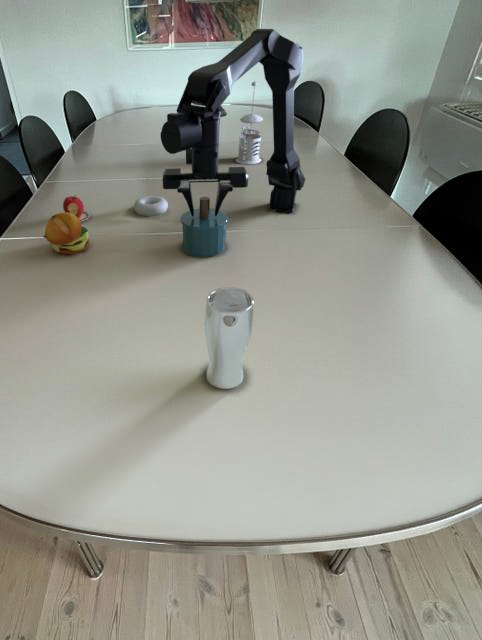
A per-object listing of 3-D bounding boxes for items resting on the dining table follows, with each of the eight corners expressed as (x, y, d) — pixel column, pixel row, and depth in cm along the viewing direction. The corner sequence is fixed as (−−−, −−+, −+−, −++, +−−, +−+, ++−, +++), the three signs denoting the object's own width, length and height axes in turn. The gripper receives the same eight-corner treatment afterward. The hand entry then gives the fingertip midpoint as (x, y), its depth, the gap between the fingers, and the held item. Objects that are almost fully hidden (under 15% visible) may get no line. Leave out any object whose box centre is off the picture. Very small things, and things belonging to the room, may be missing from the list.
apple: (95, 217, 118) (91, 194, 113) (73, 226, 113) (68, 203, 109) (79, 210, 122) (74, 188, 118) (56, 219, 118) (51, 196, 113)
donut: (130, 218, 117) (164, 219, 115) (128, 206, 115) (163, 207, 113) (139, 205, 124) (171, 205, 122) (138, 193, 122) (170, 194, 120)
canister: (229, 241, 104) (231, 214, 99) (217, 259, 96) (218, 231, 92) (191, 235, 107) (191, 209, 102) (176, 253, 100) (176, 226, 95)
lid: (233, 216, 100) (235, 192, 96) (220, 235, 92) (221, 210, 88) (190, 210, 103) (189, 187, 99) (173, 228, 95) (172, 204, 91)
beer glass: (200, 363, 69) (202, 287, 59) (241, 360, 70) (249, 284, 60) (206, 393, 64) (209, 315, 54) (250, 389, 64) (260, 311, 54)
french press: (265, 158, 155) (273, 80, 139) (252, 167, 148) (260, 85, 132) (242, 155, 159) (247, 78, 143) (228, 163, 152) (232, 83, 136)
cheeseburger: (99, 239, 106) (89, 206, 98) (81, 267, 101) (69, 234, 93) (65, 234, 109) (52, 201, 101) (46, 261, 103) (31, 229, 95)
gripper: (245, 132, 92) (240, 202, 102) (163, 135, 92) (166, 203, 103) (251, 146, 83) (245, 220, 94) (160, 148, 84) (164, 221, 94)
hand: (204, 215), depth 96 cm, fingers open, 5 cm apart
